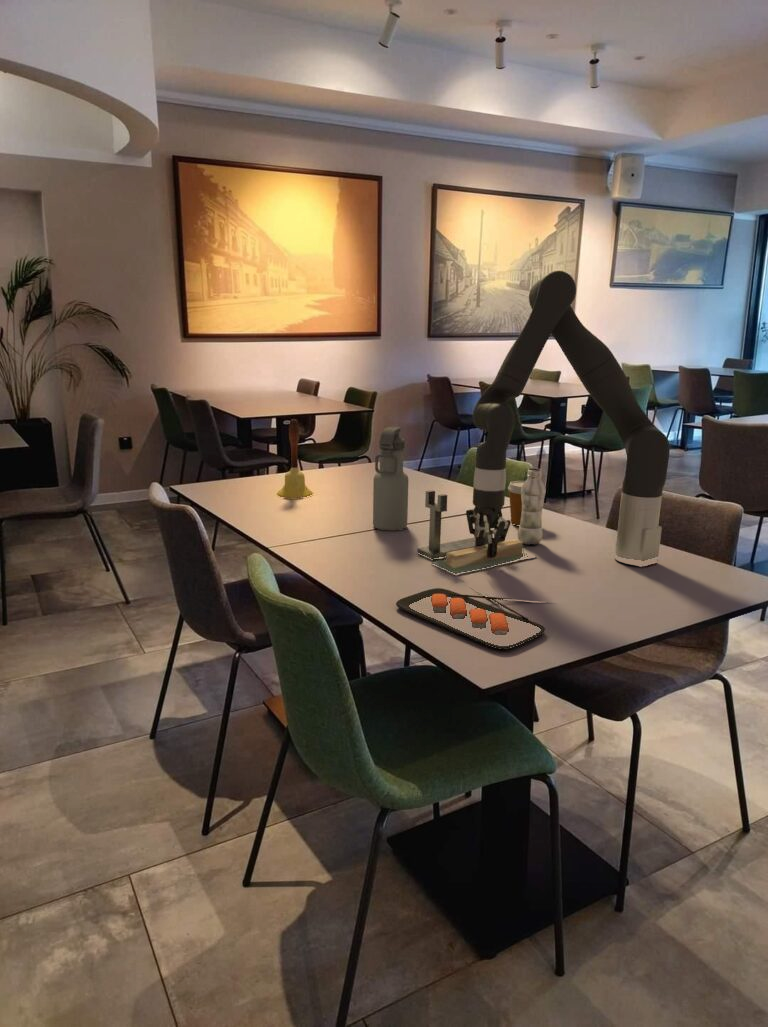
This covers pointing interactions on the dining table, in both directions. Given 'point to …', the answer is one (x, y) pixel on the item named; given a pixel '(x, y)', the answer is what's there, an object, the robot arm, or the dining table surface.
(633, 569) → the dining table surface
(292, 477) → the handbell
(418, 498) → the dining table surface
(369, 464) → the dining table surface
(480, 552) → the beech rail
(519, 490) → the disposable coffee cup
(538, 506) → the plastic bottle
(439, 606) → the sushi plate
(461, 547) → the rail stand
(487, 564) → the rubber mat
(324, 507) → the dining table surface
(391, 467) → the water bottle
